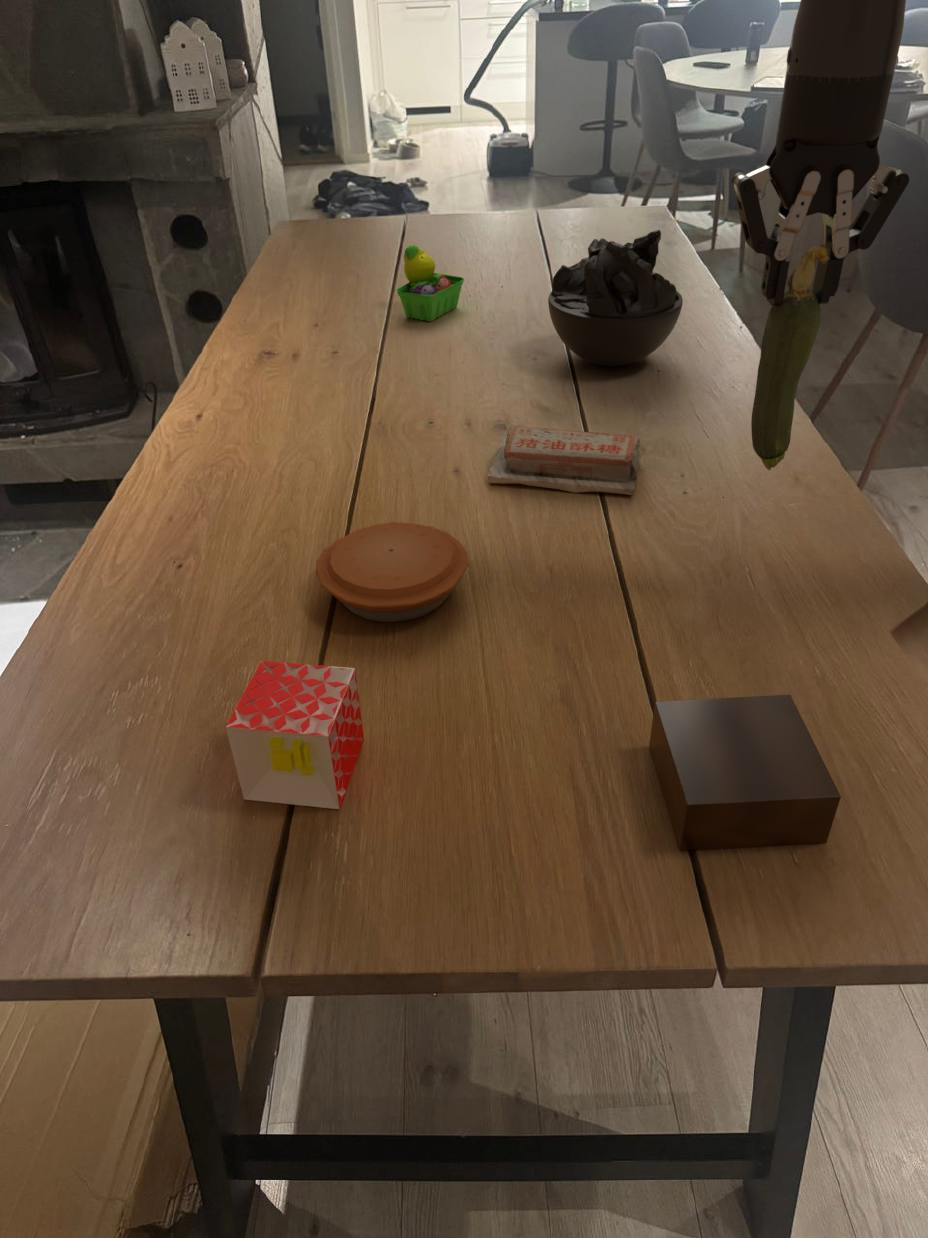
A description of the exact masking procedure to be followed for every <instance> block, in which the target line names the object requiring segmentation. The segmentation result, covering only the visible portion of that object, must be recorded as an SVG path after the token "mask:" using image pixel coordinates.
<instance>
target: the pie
mask: <svg viewBox="0 0 928 1238" xmlns="http://www.w3.org/2000/svg"><path fill="white" fill-rule="evenodd" d="M468 556H469V555H468V552H467V550H466V549H465V547H464V546H463V544H462V543H461V542H460V541H459V540H458V539H457V538H456V537H454V536H453V535H452V534H450V533H449V532H447V531H445V530H442V529H440V528H437V527H434V526H431V525H425V524H419V523H413V522H400V521H399V522H397V521H392V522H386V523H379V524H377V523H376V524H373V525H370V526H366V527H363V528H359V529H358V530H355V531H353V532H350V533H348V534H347V535H345V536H343V537H341V538H338V539H337V540H335V541H334V542H332V543H331V544H329V545H327V546H326V547H325V548H324V549H323V550H322V552H321V553H320V555H319V556H318V557H317V559H316V563H315V564H316V565H315V575H316V576H317V579H318V582H319V585H320V586H321V587H322V588H323V589H324V590H326V592H328V593H329V594H330V595H332V596H333V597H334V598H335V599H337V600H338V601H339V602H340V603H341V604H342V605H343V606H344V607H345V608H346V609H348V610H349V611H350V612H351V613H352V614H355V615H356V616H359V617H360V618H362V619H365V620H368V621H369V620H370V621H375V622H379V623H399V622H406V621H412V620H415V619H417V618H421V617H424V616H427V615H428V614H429V613H431V612H434V611H435V610H437V609H438V608H439V607H440V606H441V605H442V604H443V603H444V602H445V601H446V600H447V598H448V597H449V596H450V594H451V593H452V592H453V590H454V588H455V587H456V586H457V585H458V584H459V582H460V581H461V580H462V578H463V576H464V575H465V573H466V571H467V570H468V567H469V565H470V563H469V557H468Z"/></svg>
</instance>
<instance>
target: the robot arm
mask: <svg viewBox="0 0 928 1238" xmlns="http://www.w3.org/2000/svg"><path fill="white" fill-rule="evenodd" d="M906 4H907V0H800V1H799V5H798V9H797V14H796V17H795V21H794V24H793V27H792V34H791V39H790V44H789V48H788V50H787V54H786V71H785V77H784V84H783V90H782V97H781V103H780V109H779V116H778V121H777V122H778V124H777V128H776V129H777V130H776V139H775V144H774V147H773V148H772V151H771V153H770V155H769V156H768V158H767V160H766V162H765V164H764V165H763V166H760V167H759V168H757V169H754V170H752V171H749V172H748V173H744V172H737V173H735V174H734V175H733V176H732V177H731V182H730V183H731V187H732V191H733V195H734V199H735V204H736V208H737V213H738V216H739V220H740V224H741V228H742V233H743V236H744V241H745V243H746V244H747V245H748V246H749V247H750V248H751V249H752V250H753V251H754V252H755V253H756V254H761V255H764V256H765V261H764V267H763V273H762V281H761V285H760V289H761V294H762V296H764V297H765V298H766V301H767V302H768V303H769V304H770V306H771V307H772V306H779V305H782V302H783V297H784V292H786V286H787V279H788V273H789V268H790V262H791V261H790V260H789V259H788V257H789V256H790V253H791V250H792V248H793V244H794V242H795V239H796V237H797V235H798V233H800V231H801V230H802V228H803V225H804V223H805V219H806V217H808V216H812V215H814V214H818V213H819V214H821V220H822V224H823V245H825V248H826V249H827V250H826V251H827V256H828V260H827V261H826V264H823V262H821V260H820V259H821V258H822V257H820V258H819V259H817V263H816V268H815V274H814V279H813V280H814V281H813V287H812V289H811V291H812V292H813V294H814V295H815V296H816V297H817V299H818V302H819V304H820V305H827V304H829V301H830V299H831V297H835V296H836V293H837V292H838V290H839V283H840V281H841V280H840V279H841V276H842V270H843V265H844V261H845V258H846V257H847V256H848V255H849V254H851V253H852V252H854V251H856V250H859V249H860V250H863V251H864V250H867V249H869V248H870V247H871V246H872V245H873V243H874V242H875V240H876V238H877V236H878V235H879V233H880V231H881V230H882V229H883V226H884V225H885V224H886V222H887V219H888V218H889V216H890V215H891V213H892V211H893V210H894V209H895V206H896V205H897V203H898V202H899V200H900V198H901V196H902V194H903V193H904V192H905V190H906V188H907V186H908V185H909V183H910V176H909V174H907V173H905V172H904V170H901V169H899V168H897V167H894V166H887V165H885V164H883V163H881V156H880V153H879V149H878V148H879V147H878V143H879V140H880V137H881V134H882V130H883V126H884V122H885V117H886V112H887V106H888V103H889V98H890V94H891V88H892V84H893V80H894V74H895V69H896V65H897V62H898V61H897V60H898V55H899V50H900V47H901V42H902V37H903V32H904V27H905V25H904V24H905V16H906V15H905V14H906ZM870 180H871V181H870ZM869 181H870V184H869V186H868V188H869V189H868V190H869V192H870V193H869V195H868V196H867V198H866V200H865V201H864V202H863V204H862V207H861V208H860V210H859V212H858V213H857V215H856V217H855V219H854V220H853V200H854V199H855V198H856V196H857V195H858V194H859V193H860V192H861V190H862V189H863V188H864V187H866V185H867V183H868V182H869ZM769 182H770V183H771V185H772V186H773V187H772V188H773V189H774V191H775V193H776V195H777V196H778V198H779V199H778V202H777V205H776V208H775V211H774V213H773V218H772V222H773V223H772V226H771V229H770V232H769V235H768V234H767V229H766V225H765V221H764V217H763V212H762V208H761V203H760V201H762V200H763V199H764V197H765V195H766V187H767V184H768V183H769ZM828 250H829V251H828Z"/></svg>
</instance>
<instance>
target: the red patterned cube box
mask: <svg viewBox="0 0 928 1238" xmlns="http://www.w3.org/2000/svg"><path fill="white" fill-rule="evenodd" d="M356 673H357V672H356V668H355V667H344V666H333V665H321V664H320V665H319V664H308V663H296V662H285V661H274V660H273V661H271V660H260V661H259V663H258V665H257V667H256V669H255V671H254V672H253V674H252V676H251V678H250V680H249V682H248V684H247V686H246V688H245V689H244V691H243V694H242V695H241V696H240V699H239V701H238V703H237V705H236V707H235V709H234V710H233V713H232V715H231V716H230V718H229V719H228V722H227V724H226V725H225V730H226V733H227V737H228V741H229V745H230V750H231V753H232V757H233V762H234V766H235V769H236V773H237V777H238V781H239V782H238V783H239V786H240V789H241V794H242V798H243V800H246V801H256V802H266V803H274V804H283V805H293V806H303V807H312V808H314V807H315V808H323V809H333V810H341V807H342V804H343V801H344V799H345V796H346V793H347V790H348V787H349V785H350V781H351V779H352V775H353V772H354V769H355V766H356V763H357V760H358V758H359V755H360V752H361V750H362V746H363V744H364V740H365V735H364V728H363V720H362V713H361V712H362V711H361V705H360V697H359V691H358V690H359V688H358V680H357V674H356Z"/></svg>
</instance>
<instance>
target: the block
mask: <svg viewBox="0 0 928 1238" xmlns="http://www.w3.org/2000/svg"><path fill="white" fill-rule="evenodd" d="M650 730H651V731H650V736H649V745H648V746H649V750H650V754H651V757H652V760H653V764H654V768H655V771H656V774H657V778H658V781H659V784H660V789H661V791H662V795H663V798H664V801H665V805H666V808H667V812H668V815H669V819H670V822H671V825H672V829H673V832H674V836H675V839H676V842H677V846H678V850H679V851H680V852H681V851H684V852H685V851H699V850H700V851H701V850H718V849H734V848H735V849H737V848H755V847H756V848H757V847H770V846H790V845H808V844H827V842H828V839H829V836H830V833H831V830H832V827H833V823H834V820H835V817H836V814H837V811H838V808H839V806H840V805H839V804H840V802H841V798H842V796H841V794H840V792H839V790H838V787H837V786H836V783H835V782H834V779H833V778H832V776H831V773H830V772H829V770H828V768H827V765H826V764H825V762H824V759H823V758H822V755H821V754H820V752H819V750H818V748H817V746H816V743H815V742H814V739H813V738H812V735H811V734H810V731H809V730H808V727H807V726H806V723H805V721H804V720H803V717H802V715H801V713H800V711H799V709H798V708H797V705H796V704H795V701H794V699H793V697H792V696H791V694H777V695H776V694H775V695H758V696H739V697H738V696H735V697H720V698H717V697H716V698H698V699H682V700H679V699H677V700H662V701H661V700H660V701H654V706H653V713H652V721H651V728H650Z"/></svg>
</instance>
